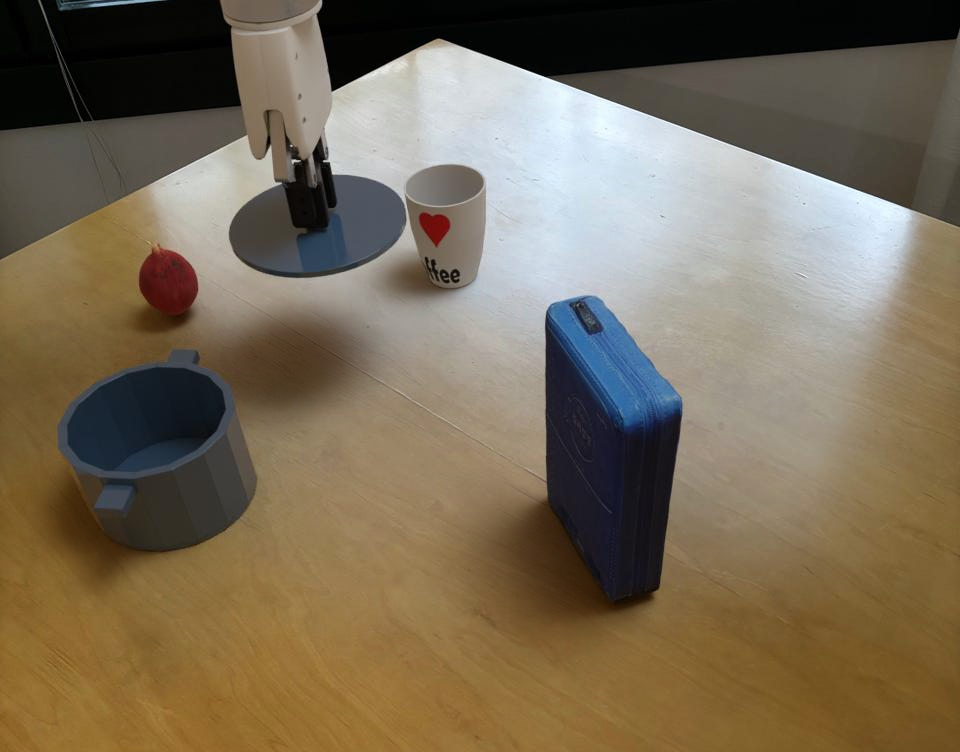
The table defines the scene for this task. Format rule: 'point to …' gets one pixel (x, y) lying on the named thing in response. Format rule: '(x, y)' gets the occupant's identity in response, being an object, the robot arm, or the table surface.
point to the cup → (448, 221)
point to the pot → (159, 453)
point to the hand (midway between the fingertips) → (315, 214)
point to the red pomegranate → (168, 281)
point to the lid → (319, 230)
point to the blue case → (608, 446)
